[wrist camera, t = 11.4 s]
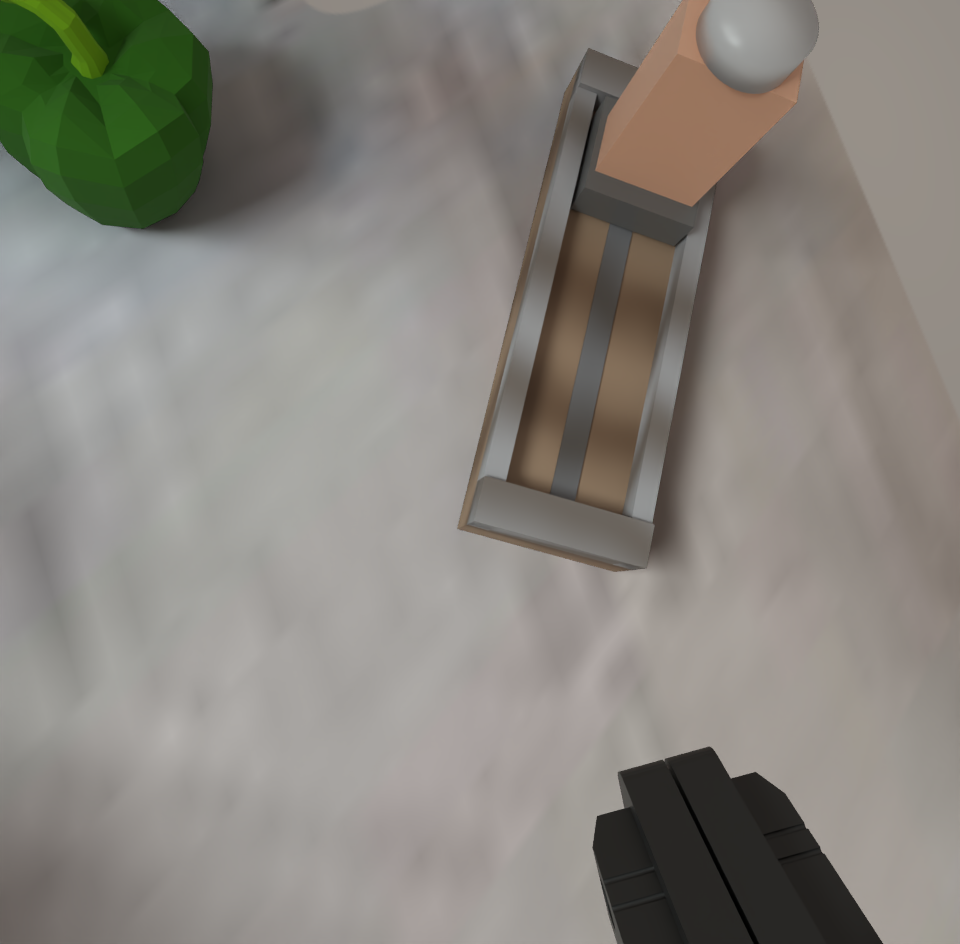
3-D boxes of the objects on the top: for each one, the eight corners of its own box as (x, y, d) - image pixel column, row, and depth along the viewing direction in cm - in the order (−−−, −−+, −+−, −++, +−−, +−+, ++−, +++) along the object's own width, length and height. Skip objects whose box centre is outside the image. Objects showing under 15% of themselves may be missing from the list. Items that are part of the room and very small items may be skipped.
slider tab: (674, 246, 39) (828, 101, 28) (569, 208, 38) (686, 43, 27) (691, 159, 40) (846, -13, 29) (590, 120, 39) (710, -74, 28)
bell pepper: (264, 178, 37) (255, 29, 27) (129, 291, 35) (67, 170, 25) (131, 51, 36) (73, -148, 27) (-15, 156, 34) (-135, -20, 25)
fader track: (614, 571, 38) (646, 568, 34) (457, 528, 36) (474, 520, 33) (699, 145, 43) (733, 106, 40) (564, 93, 42) (588, 48, 38)
